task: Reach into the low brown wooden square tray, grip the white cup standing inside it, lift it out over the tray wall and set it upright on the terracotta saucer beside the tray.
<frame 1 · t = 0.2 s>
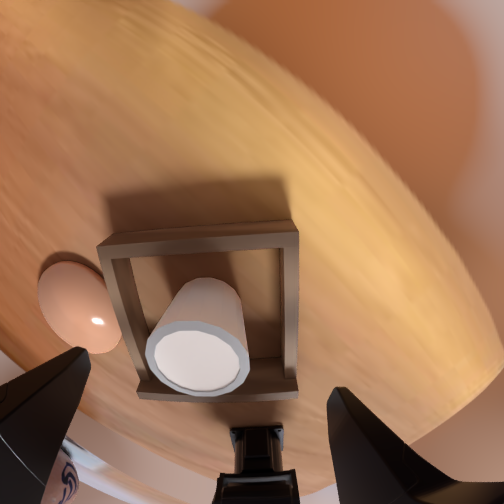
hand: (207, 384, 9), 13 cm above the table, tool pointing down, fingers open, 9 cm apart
terracotta saucer: (79, 308, 23), on the table
white cup: (208, 306, 24), resting in brown wooden square tray
ceramic pitcher: (49, 442, 37), on the table
brown wooden square tray: (208, 307, 23), on the table
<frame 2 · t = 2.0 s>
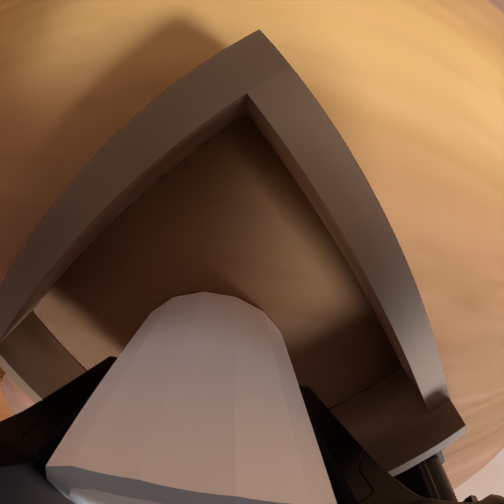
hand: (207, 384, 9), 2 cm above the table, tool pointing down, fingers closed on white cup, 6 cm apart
terracotta saucer: (64, 422, 13), on the table
white cup: (212, 352, 10), resting in brown wooden square tray, touching gripper
brown wooden square tray: (211, 356, 10), on the table
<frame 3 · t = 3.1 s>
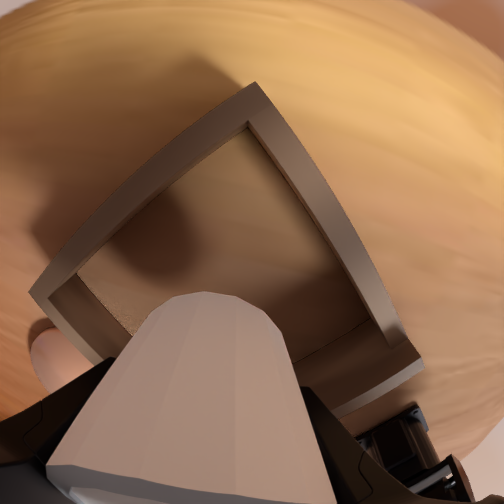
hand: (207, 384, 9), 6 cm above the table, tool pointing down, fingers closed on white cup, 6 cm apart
terracotta saucer: (87, 381, 17), on the table
white cup: (212, 352, 10), point 4 cm above the table, touching gripper
brown wooden square tray: (220, 300, 14), on the table
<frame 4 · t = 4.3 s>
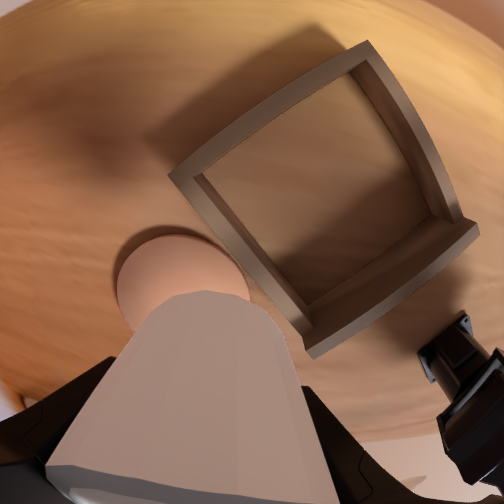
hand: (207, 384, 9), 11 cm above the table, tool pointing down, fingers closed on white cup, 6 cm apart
terracotta saucer: (182, 299, 21), on the table
white cup: (212, 351, 10), point 10 cm above the table, touching gripper
brown wooden square tray: (332, 191, 18), on the table
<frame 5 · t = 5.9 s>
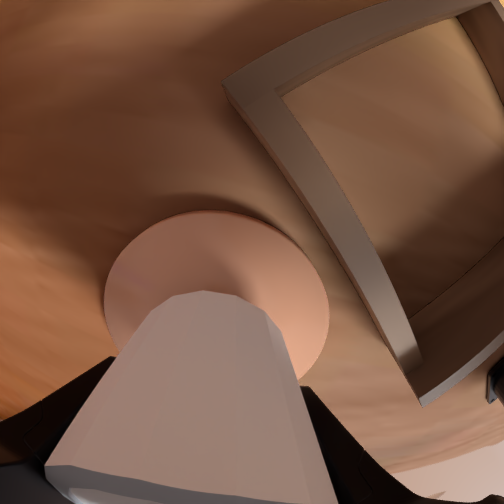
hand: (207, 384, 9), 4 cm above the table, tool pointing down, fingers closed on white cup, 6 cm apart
terracotta saucer: (213, 321, 12), on the table
white cup: (211, 351, 10), point 2 cm above the table, touching gripper
brown wooden square tray: (449, 162, 10), on the table
when the fingers open (3 cm above the table, at t = 6.9 s): white cup drops 1 cm, resting on terracotta saucer.
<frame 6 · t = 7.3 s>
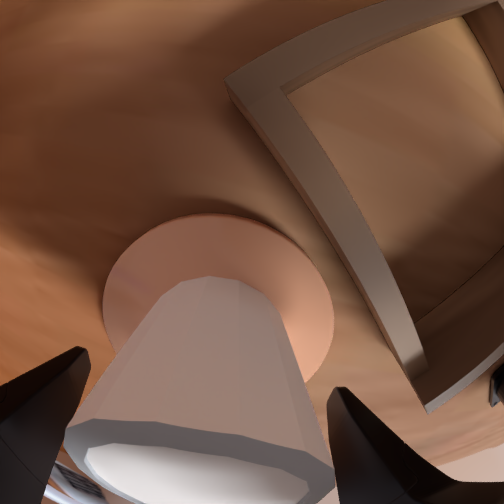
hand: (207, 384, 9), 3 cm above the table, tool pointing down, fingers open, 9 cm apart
terracotta saucer: (215, 327, 12), on the table
white cup: (216, 334, 12), point 1 cm above the table, touching terracotta saucer
brown wooden square tray: (456, 164, 10), on the table
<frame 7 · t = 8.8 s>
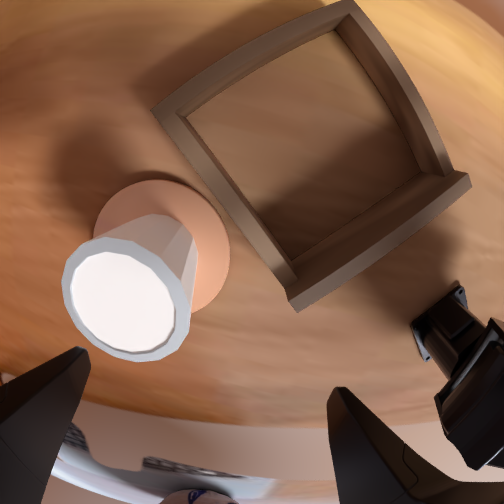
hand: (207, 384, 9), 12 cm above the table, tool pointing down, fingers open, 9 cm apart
terracotta saucer: (159, 250, 19), on the table
white cup: (158, 253, 19), point 1 cm above the table, touching terracotta saucer
ceramic pitcher: (199, 492, 35), on the table
brown wooden square tray: (316, 139, 17), on the table
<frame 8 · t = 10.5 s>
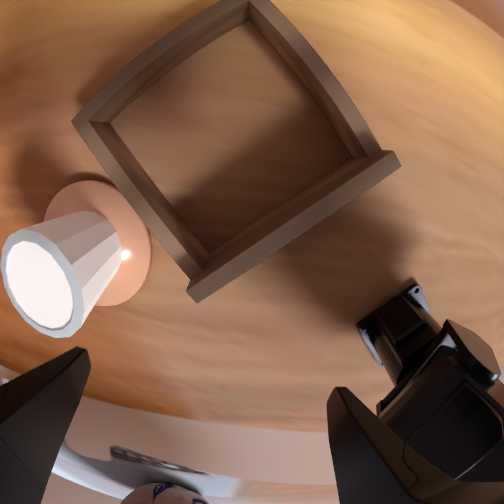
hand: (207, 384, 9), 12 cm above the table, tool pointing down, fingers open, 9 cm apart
terracotta saucer: (94, 244, 20), on the table
white cup: (91, 246, 19), point 1 cm above the table, touching terracotta saucer
ceramic pitcher: (168, 486, 35), on the table
brown wooden square tray: (226, 131, 17), on the table
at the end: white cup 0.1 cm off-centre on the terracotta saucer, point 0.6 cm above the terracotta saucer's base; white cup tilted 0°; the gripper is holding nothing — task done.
